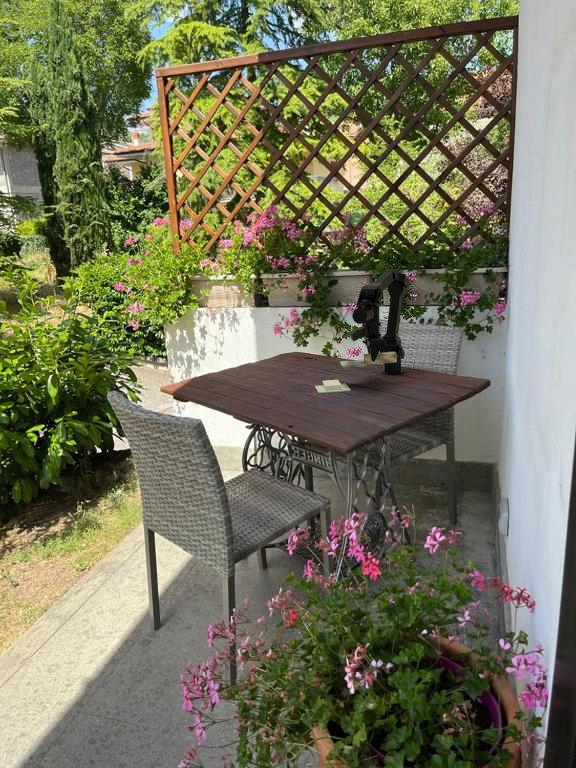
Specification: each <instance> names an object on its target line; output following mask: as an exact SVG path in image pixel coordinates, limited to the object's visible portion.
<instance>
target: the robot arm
mask: <svg viewBox="0 0 576 768" xmlns="http://www.w3.org/2000/svg"><path fill="white" fill-rule="evenodd" d="M410 283H411V282H410V278H408V276H407V275H406V274H404V273H402V272H400V271H399V270H397V269H394V268H393V269H387V268H386V269H384V271H383V273H382V274H381V275H379V277H377V279H376V280H374V281H373V282H371V283H367V284H364V285H363V286H362V287H361V289H360V291H359V293H358V294H359V295H358V297H357V298H358V299H357V302H356V308H355V309H354V310H353V312H352V314H351V315H352V316H351V317H352V320H353V321H354V323H356V324H358V325H361V326H359V327H356V328H354V329H352V330H349V331H348V334H349V337H350V339H351V341H353V342H356V341H358V340H361V342H362V343H363V344H364V345H365V347H366V350H367V354H371V360H372V362H374V361H375V360H376V358H377V355H378V353H384V352H396V353H397V362H394V363H382V372H383V373H384V374H386V375H395V374H396V375H398V374H399V373H400V374H403V371H402V360H404V359H405V355H406V354H405V353H406V352H405V349H404V348H403V345H402V339H401V337H400V335H399V333H400V332H399V330H400V322H401V315H402V306H403V299H404V298H405V296H406V295H407V294H408V291H409V290H408V289H409V288H410ZM386 289H387V292H388V295H389V296H390V299H389V307H388V308H389V309H388V315H387V324H386V332H385V334H384V335H382V334H381V333H380V331H381V330H380V329H381V328H380V326H382V323H381V320H380V317H381V316H380V307H382V304H381V300H382V298H384V291H385V290H386ZM362 339H363V340H362Z"/></svg>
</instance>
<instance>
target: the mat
mask: <svg viewBox="0 0 576 768" xmlns="http://www.w3.org/2000/svg"><path fill="white" fill-rule="evenodd" d="M341 385H342V389H338V390H325V388H324V387H323V385H322V384H321V385H315V386H314V387H315V389H316V391H317V393H318V394H326V393H329V394H330V393H340V392H341V393H342V392H351V388H350V387H349V386H348V385H347V383H341Z"/></svg>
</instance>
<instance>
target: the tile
mask: <svg viewBox="0 0 576 768" xmlns="http://www.w3.org/2000/svg"><path fill="white" fill-rule="evenodd" d="M341 384H342V383H341V382H340V381H339V379H331V380H329V379H328V380H327V379H326V380H322V384H321V386H322V385H323V387H324V388H325V390H338V389H342V385H341Z"/></svg>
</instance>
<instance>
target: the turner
mask: <svg viewBox="0 0 576 768" xmlns="http://www.w3.org/2000/svg"><path fill="white" fill-rule="evenodd" d="M394 362H397V353H396V352H384V353H380V352H379V353H378V355H377V358H376V360H375V361H374V362H372V360H371V354H368V353H363V359H357V360H343V361H339V365H340V366H342V367H343V368H354V367H355V368H356V367H367V365H378V364H383V363H394Z"/></svg>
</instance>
